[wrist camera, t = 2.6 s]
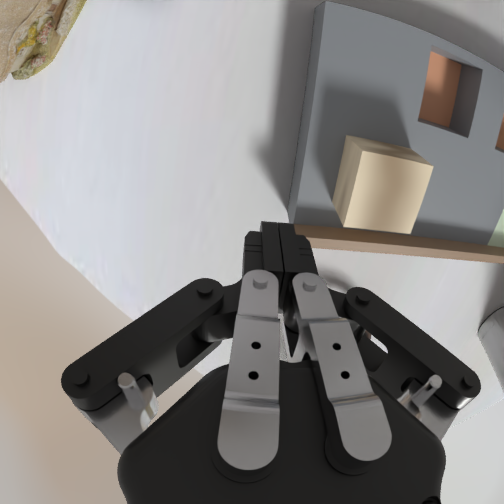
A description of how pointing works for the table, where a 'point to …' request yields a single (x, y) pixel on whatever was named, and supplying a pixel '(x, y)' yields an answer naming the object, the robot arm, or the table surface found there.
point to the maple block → (380, 185)
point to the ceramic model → (33, 33)
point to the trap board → (402, 134)
